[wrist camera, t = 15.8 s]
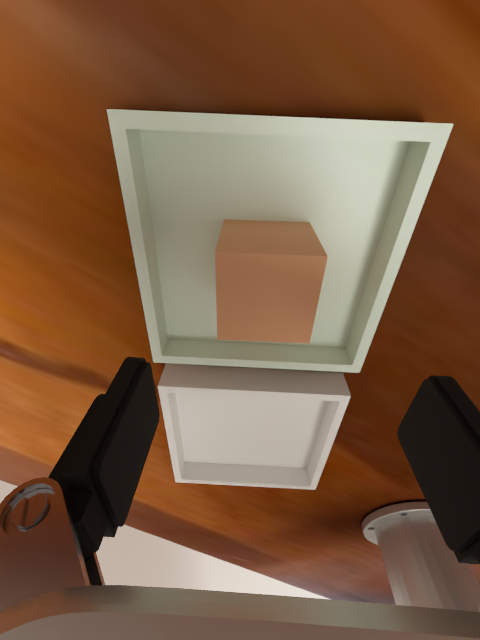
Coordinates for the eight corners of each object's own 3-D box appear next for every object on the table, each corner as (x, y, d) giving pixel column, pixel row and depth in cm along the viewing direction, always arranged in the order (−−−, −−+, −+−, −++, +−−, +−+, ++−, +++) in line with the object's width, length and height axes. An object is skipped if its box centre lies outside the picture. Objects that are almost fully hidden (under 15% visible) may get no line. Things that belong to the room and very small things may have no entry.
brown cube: (309, 222, 17) (327, 256, 13) (297, 296, 20) (309, 343, 16) (224, 219, 17) (215, 252, 13) (224, 293, 20) (217, 339, 16)
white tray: (342, 372, 25) (350, 395, 23) (311, 466, 33) (315, 489, 31) (165, 363, 25) (157, 385, 23) (180, 459, 33) (175, 482, 31)
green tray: (425, 122, 15) (453, 124, 13) (350, 350, 23) (359, 372, 21) (126, 109, 15) (106, 108, 13) (161, 340, 23) (153, 362, 21)
